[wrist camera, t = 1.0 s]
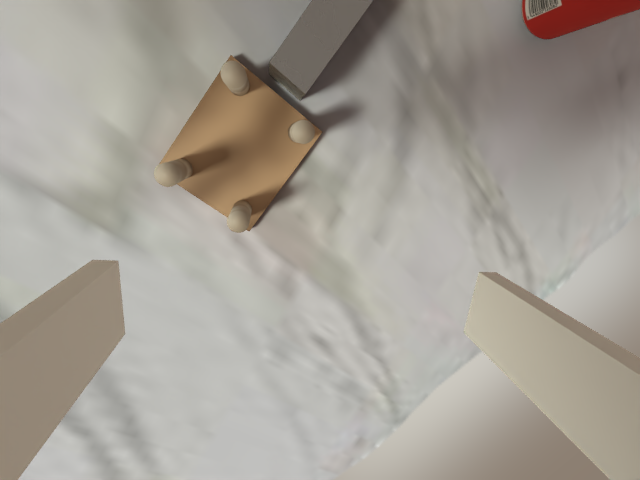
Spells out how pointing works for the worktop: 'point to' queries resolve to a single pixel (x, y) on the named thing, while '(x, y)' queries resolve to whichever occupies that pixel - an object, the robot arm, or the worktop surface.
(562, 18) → the beverage can
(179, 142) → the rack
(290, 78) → the bar
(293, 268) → the worktop surface
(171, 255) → the worktop surface
